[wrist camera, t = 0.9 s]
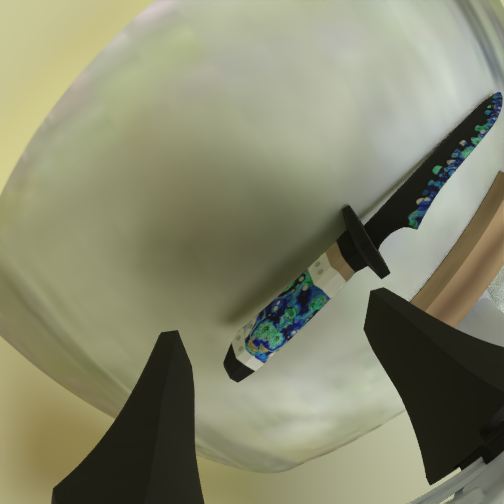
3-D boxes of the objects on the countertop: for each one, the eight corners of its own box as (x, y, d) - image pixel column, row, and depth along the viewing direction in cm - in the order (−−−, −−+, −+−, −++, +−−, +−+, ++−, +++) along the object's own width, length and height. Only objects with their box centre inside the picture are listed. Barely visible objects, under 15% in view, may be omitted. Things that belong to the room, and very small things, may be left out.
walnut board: (517, 211, 20) (530, 219, 19) (411, 353, 27) (419, 365, 25) (499, 171, 18) (514, 177, 16) (377, 337, 25) (386, 352, 23)
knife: (229, 346, 21) (240, 391, 17) (200, 324, 19) (206, 371, 15) (485, 115, 17) (522, 122, 13) (475, 87, 16) (514, 90, 12)
